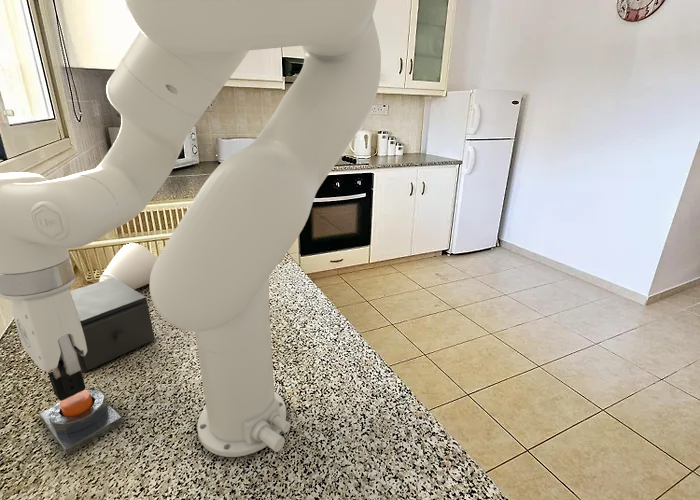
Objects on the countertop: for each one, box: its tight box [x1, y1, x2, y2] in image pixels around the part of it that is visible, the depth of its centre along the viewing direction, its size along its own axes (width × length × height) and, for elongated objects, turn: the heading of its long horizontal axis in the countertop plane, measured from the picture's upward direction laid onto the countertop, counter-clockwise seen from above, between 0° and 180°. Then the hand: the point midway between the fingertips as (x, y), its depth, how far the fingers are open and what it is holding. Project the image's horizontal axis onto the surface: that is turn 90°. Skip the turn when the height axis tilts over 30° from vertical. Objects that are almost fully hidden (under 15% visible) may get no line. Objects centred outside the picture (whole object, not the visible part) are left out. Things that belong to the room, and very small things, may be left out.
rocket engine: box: [98, 242, 158, 290], centre depth 88 cm, size 12×12×18 cm
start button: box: [59, 389, 93, 417], centre depth 53 cm, size 4×4×2 cm
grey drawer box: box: [70, 278, 155, 374], centre depth 71 cm, size 14×13×10 cm
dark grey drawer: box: [81, 303, 155, 371], centre depth 70 cm, size 14×11×8 cm
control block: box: [39, 386, 124, 457], centre depth 54 cm, size 10×7×3 cm
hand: (71, 392), depth 53 cm, fingers closed
